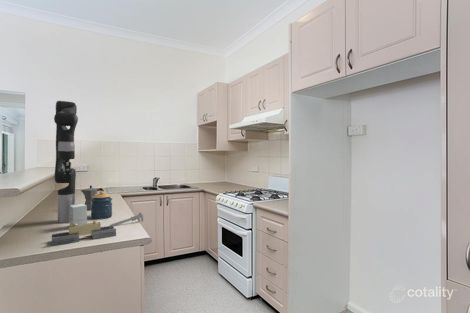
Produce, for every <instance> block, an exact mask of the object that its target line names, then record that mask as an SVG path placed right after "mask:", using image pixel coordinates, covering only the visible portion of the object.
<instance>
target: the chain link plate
mask: <svg viewBox="0 0 470 313" xmlns="http://www.w3.org/2000/svg"><path fill="white" fill-rule="evenodd" d="M101 224H102V223H101V222H100V221H98V220H93V221H92V222H90V223H88V222H87V224H80V225H77V224H73V225H72V226H70V225H68V232H69V235H73V234H79V237H82V236H89V235H91V234H92V232H93V231H100V230H101V227H102V226H101Z"/></svg>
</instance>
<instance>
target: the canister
mask: <svg viewBox="0 0 470 313" xmlns="http://www.w3.org/2000/svg"><path fill="white" fill-rule="evenodd" d="M92 197H93V199H92V200H91V202H92V204H91V210H90V218H91V219H92V220H104V219H109V218H112V216H113V202H112V200H113V198H112V195H111V194H109V193H106V192H103V191H99V193H97V194H95V195H94V196H92Z"/></svg>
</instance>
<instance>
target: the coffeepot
mask: <svg viewBox="0 0 470 313" xmlns="http://www.w3.org/2000/svg"><path fill="white" fill-rule="evenodd" d="M100 191H103V192H104V191H105V190H104V189H103V188H102V187H99V188H96V187H95V188H94V187H93V185H89V188H84V189H81V190H80V192H81V193H82V194H83V196H84V199H85V201H84V205H86V206H87V212H88V211H90V212H91V204H92V202H91V200H92V199H93V197H92V196H94V195H95V194H98V192H100ZM104 193H105V192H104Z"/></svg>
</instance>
